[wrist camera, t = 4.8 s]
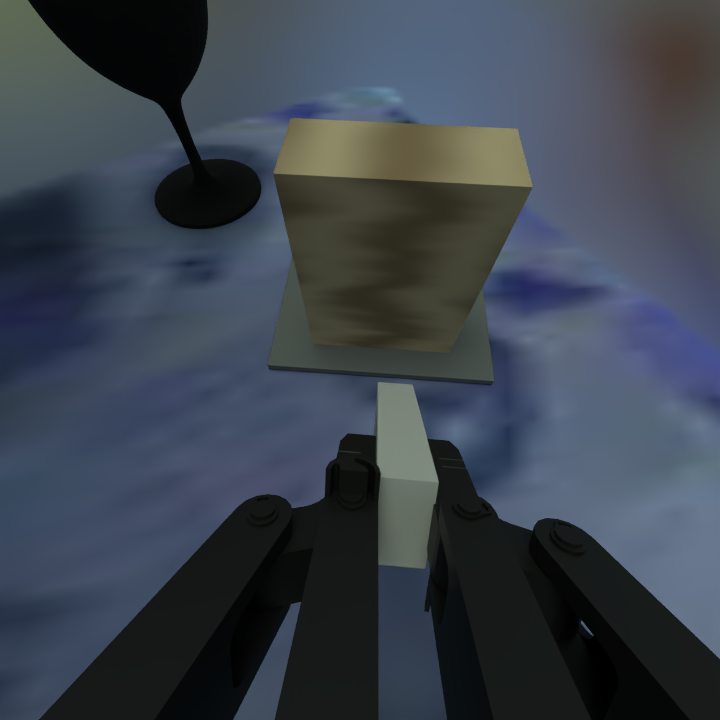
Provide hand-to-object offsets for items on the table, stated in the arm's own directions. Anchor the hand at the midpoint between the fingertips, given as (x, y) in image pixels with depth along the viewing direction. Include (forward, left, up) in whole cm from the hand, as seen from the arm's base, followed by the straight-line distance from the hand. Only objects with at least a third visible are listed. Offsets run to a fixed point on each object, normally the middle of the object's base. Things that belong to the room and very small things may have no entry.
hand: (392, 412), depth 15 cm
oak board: (0, +9, -7) cm, 12 cm away
